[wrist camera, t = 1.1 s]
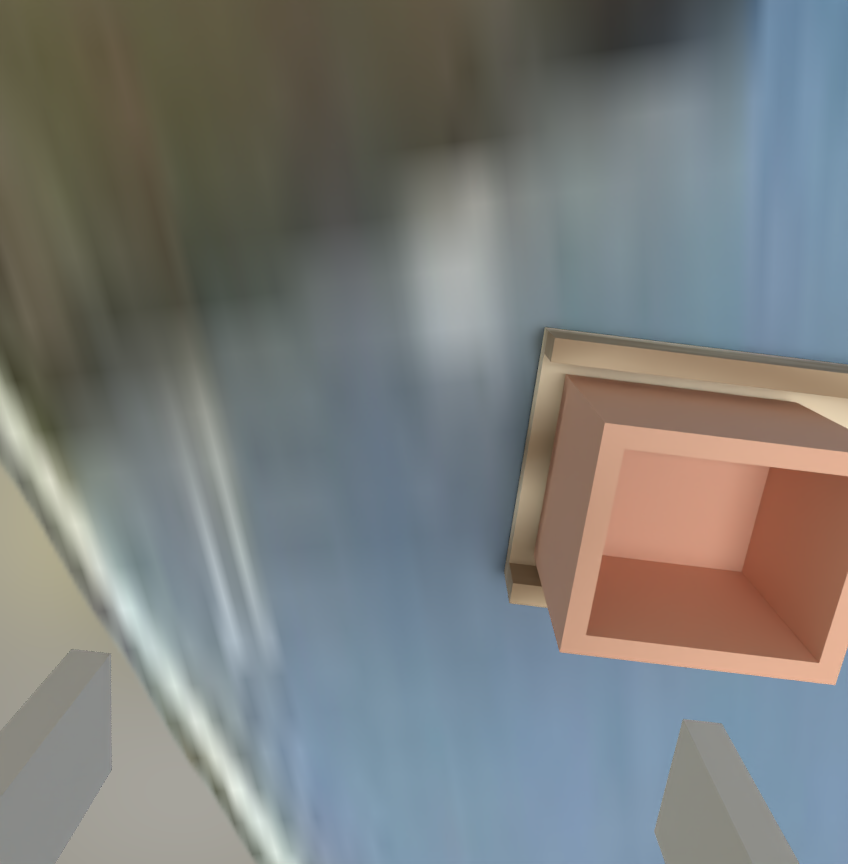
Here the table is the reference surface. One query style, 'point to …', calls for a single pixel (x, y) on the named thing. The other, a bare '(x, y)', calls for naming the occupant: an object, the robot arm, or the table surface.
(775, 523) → the box
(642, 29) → the table surface
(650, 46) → the table surface
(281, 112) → the table surface
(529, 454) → the bay
